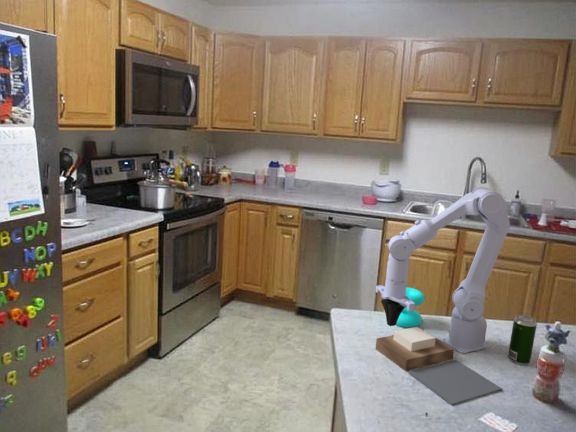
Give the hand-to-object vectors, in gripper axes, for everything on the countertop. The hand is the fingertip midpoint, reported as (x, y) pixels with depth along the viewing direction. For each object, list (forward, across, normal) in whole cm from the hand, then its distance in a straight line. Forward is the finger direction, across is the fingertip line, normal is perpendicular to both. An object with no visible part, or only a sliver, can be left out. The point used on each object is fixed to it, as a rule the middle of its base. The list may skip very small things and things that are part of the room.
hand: (391, 324), depth 129 cm
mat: (+4, +24, 0) cm, 24 cm away
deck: (+4, +10, 0) cm, 11 cm away
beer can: (+4, +23, +24) cm, 34 cm away
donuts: (+4, -7, +12) cm, 14 cm away
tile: (+1, +9, 0) cm, 9 cm away
